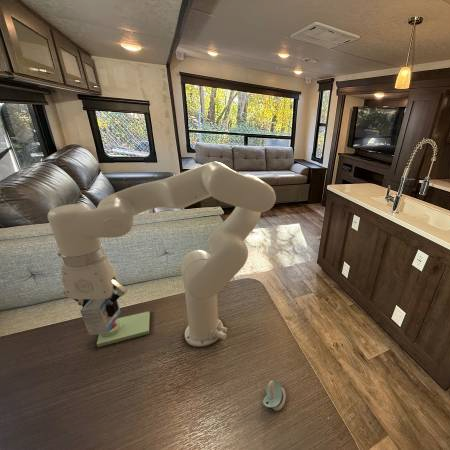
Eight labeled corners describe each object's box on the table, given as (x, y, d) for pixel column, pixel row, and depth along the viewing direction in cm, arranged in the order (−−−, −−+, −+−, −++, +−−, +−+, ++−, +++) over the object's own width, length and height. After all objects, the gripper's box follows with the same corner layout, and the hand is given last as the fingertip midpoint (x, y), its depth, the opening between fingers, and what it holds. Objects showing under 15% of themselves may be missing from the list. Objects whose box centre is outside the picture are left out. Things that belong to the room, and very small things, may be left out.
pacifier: (287, 387, 71) (267, 384, 72) (289, 373, 69) (268, 369, 69) (283, 415, 65) (261, 411, 65) (285, 400, 62) (262, 396, 63)
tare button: (116, 322, 84) (115, 318, 83) (114, 329, 81) (113, 325, 81) (105, 325, 82) (104, 321, 82) (103, 331, 80) (102, 327, 79)
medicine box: (108, 334, 65) (99, 308, 61) (88, 336, 64) (79, 310, 60) (121, 312, 72) (114, 288, 68) (104, 313, 71) (96, 289, 68)
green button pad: (149, 314, 92) (148, 307, 91) (149, 333, 84) (147, 327, 83) (103, 324, 86) (101, 318, 84) (97, 347, 78) (95, 340, 76)
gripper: (30, 263, 55) (57, 324, 62) (113, 264, 57) (129, 323, 64) (57, 247, 62) (78, 304, 69) (130, 248, 64) (143, 303, 71)
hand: (102, 312), depth 66 cm, fingers closed on medicine box, 4 cm apart
